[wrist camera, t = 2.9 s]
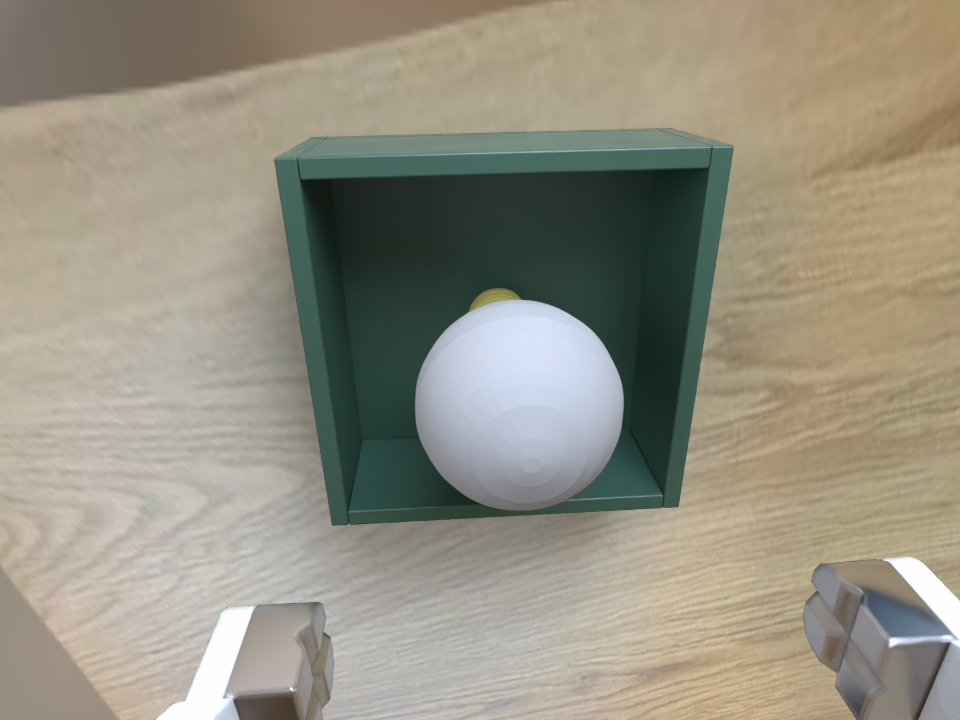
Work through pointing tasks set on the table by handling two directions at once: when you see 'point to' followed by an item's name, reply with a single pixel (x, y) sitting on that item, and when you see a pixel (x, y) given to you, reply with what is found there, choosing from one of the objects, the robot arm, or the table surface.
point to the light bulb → (518, 403)
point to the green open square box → (498, 264)
